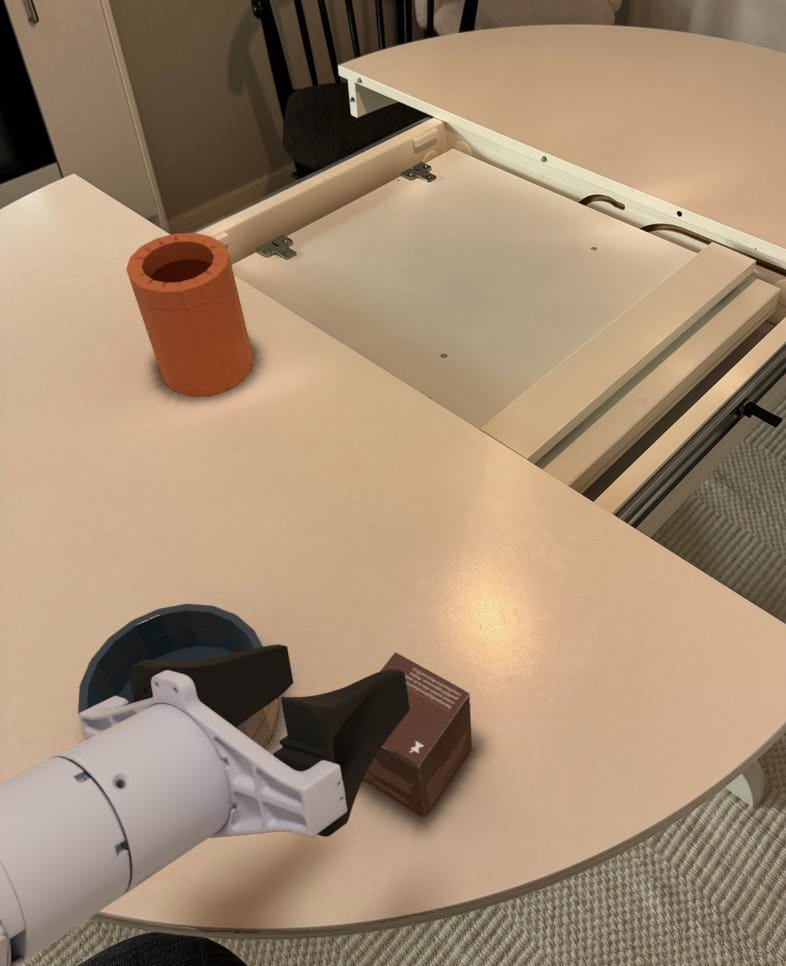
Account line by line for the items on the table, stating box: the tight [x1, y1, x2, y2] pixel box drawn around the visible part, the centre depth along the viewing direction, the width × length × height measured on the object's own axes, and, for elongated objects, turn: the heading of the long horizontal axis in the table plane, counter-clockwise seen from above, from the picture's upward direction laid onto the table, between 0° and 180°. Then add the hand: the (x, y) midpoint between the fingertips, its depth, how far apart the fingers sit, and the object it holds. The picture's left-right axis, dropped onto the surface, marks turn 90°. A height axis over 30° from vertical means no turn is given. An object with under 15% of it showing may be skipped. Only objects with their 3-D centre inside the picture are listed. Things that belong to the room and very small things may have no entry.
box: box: [363, 652, 473, 816], centre depth 62 cm, size 6×6×7 cm
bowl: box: [77, 603, 279, 750], centre depth 66 cm, size 12×12×5 cm
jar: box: [126, 232, 254, 397], centre depth 88 cm, size 9×9×12 cm
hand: (340, 676), depth 46 cm, fingers open, 7 cm apart
